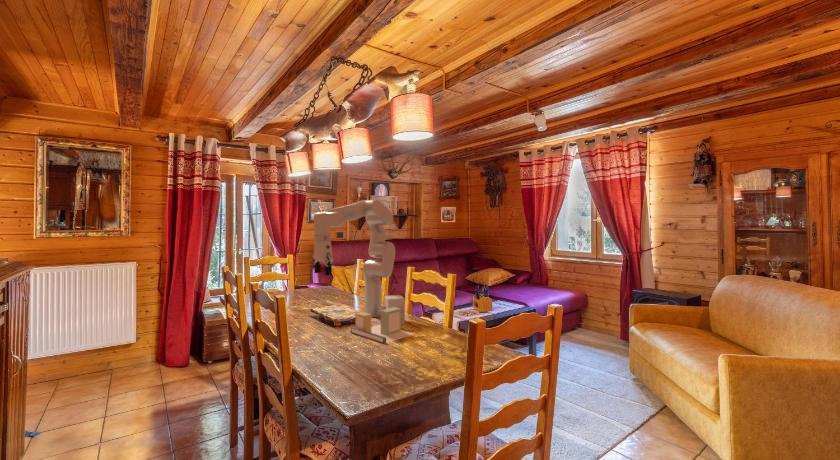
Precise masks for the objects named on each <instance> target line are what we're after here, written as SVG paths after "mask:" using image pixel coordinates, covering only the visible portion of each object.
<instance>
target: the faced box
mask: <svg viewBox="0 0 840 460" xmlns="http://www.w3.org/2000/svg"><path fill="white" fill-rule="evenodd" d="M364 312H365V311H361V312H356V313H355V318H354V319H355V328H358V329H361V330H364V331H367V332H370V333H371V327H372V317H371V314H368V313H364Z"/></svg>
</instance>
